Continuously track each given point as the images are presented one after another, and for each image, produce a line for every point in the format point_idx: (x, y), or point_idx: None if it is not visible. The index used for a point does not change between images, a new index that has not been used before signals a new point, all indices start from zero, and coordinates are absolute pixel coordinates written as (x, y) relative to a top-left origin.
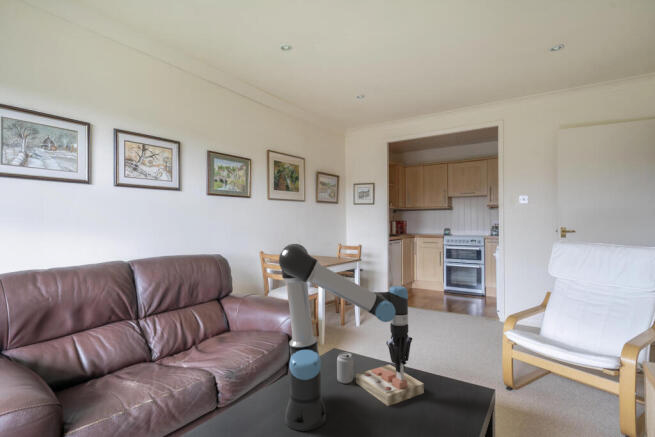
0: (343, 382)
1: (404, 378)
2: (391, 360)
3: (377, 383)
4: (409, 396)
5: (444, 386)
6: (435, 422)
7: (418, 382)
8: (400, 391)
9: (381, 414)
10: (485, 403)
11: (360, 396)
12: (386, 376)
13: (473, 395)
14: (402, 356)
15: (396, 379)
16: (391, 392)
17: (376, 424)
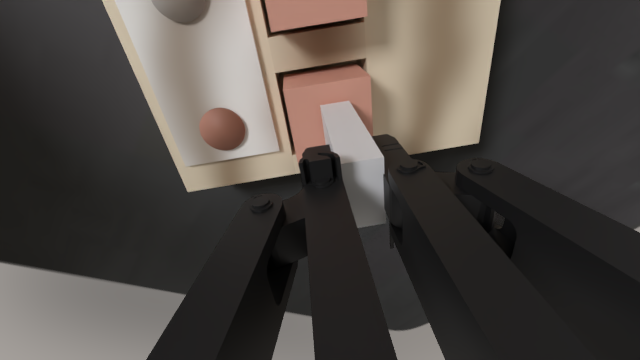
0: None
1: (429, 27)
2: (234, 224)
3: (165, 25)
4: None
5: (596, 106)
6: None
7: (464, 120)
8: (287, 172)
9: (146, 206)
10: None
11: (49, 5)
12: (266, 1)
13: (599, 209)
14: (415, 283)
15: (308, 114)
16: (227, 166)
17: (104, 251)
